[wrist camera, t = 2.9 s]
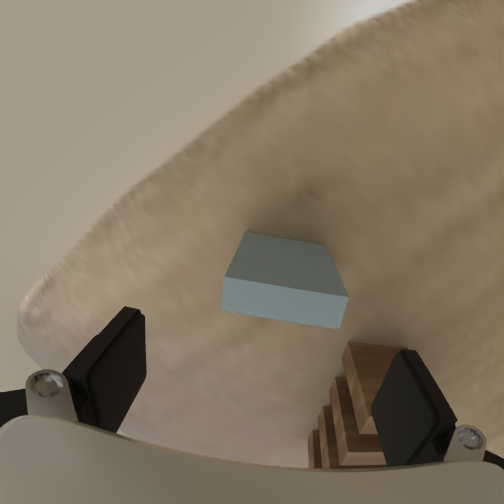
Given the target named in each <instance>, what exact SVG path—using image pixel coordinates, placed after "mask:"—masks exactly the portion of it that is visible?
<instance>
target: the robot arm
mask: <svg viewBox="0 0 504 504" xmlns="http://www.w3.org/2000/svg"><path fill="white" fill-rule="evenodd" d="M145 378H146V345H145V316H144V315H143V314H141V311H140V310H139V309H135V308H130V307H126V306H125V307H123V309H122V310H121V311H120V312H119V313H118V314H117V315H116V316H115V317H114V318H113V319H112V320H111V321H110V323H109V324H108V325H107V326H106V327H105V328H104V329H103V330H102V331H101V332H100V333H99V335H96V336H95V337H94V338H93V339H92V340H91V341H90V342H89V343H88V344H87V345H86V346H85V347H84V349H83V350H82V351H81V352H80V353H79V354H78V355H77V356H76V358H75V359H74V360H73V361H72V362H71V363H70V364H69V365H68V367H67V368H66V369H65V370H64V371H63V372H62V373H60V372H58V371H55V370H51V369H44V370H40V371H37V372H35V373H33V374H32V375H30V376H29V377H28V379H27V381H26V385H25V389H20V390H14V391H7V392H0V504H504V459H503V458H501V457H499V456H497V455H495V454H493V453H491V452H489V451H487V450H485V449H486V438H485V436H484V435H483V433H482V432H481V431H480V430H479V429H477V428H476V427H474V426H471V425H460V426H459V427H457V428H456V426H455V423H456V421H457V418H456V416H455V414H454V413H453V411H452V409H451V407H450V406H449V404H448V402H447V400H446V399H445V397H444V395H443V394H442V392H441V390H440V389H439V387H438V385H437V384H436V382H435V380H434V379H433V377H432V375H431V374H430V372H429V370H428V369H427V367H426V366H425V364H424V362H423V361H422V359H421V358H420V356H419V355H418V353H417V352H416V351H415V350H404V349H402V350H401V351H400V352H399V353H396V354H395V356H394V358H393V360H392V363H391V365H390V367H389V369H388V371H387V374H386V376H385V378H384V380H383V382H382V384H381V386H380V389H379V391H378V393H377V395H376V397H375V399H374V401H373V403H372V405H371V414H372V417H373V420H374V424H375V427H376V430H377V433H378V437H379V440H380V443H381V447H382V450H383V454H384V457H385V461H386V464H387V467H382V468H363V469H313V468H293V467H280V466H269V465H260V464H251V463H244V462H237V461H230V460H224V459H218V458H212V457H207V456H202V455H197V454H192V453H187V452H183V451H179V450H174V449H170V448H166V447H162V446H159V445H155V444H151V443H147V442H143V441H140V440H136V439H133V438H130V437H126V436H123V435H120V434H116V433H117V431H118V429H119V427H120V425H121V423H122V421H123V419H124V418H125V416H126V414H127V412H128V410H129V408H130V406H131V404H132V403H133V401H134V399H135V397H136V395H137V393H138V392H139V390H140V388H141V386H142V384H143V382H144V380H145Z"/></svg>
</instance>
